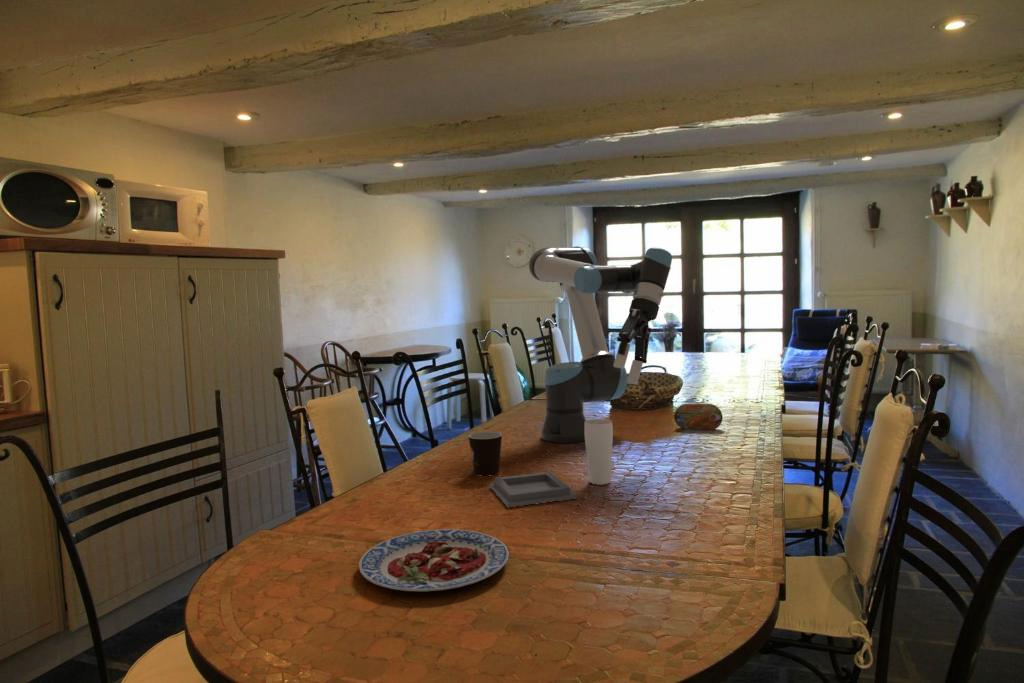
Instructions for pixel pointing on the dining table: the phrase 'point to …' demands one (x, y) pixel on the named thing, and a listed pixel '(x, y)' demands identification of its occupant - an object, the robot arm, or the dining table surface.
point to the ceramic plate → (433, 560)
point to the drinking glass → (599, 450)
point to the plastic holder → (531, 489)
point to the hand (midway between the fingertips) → (625, 375)
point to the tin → (698, 416)
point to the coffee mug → (485, 452)
